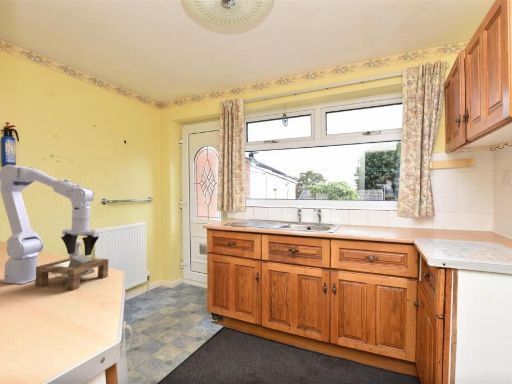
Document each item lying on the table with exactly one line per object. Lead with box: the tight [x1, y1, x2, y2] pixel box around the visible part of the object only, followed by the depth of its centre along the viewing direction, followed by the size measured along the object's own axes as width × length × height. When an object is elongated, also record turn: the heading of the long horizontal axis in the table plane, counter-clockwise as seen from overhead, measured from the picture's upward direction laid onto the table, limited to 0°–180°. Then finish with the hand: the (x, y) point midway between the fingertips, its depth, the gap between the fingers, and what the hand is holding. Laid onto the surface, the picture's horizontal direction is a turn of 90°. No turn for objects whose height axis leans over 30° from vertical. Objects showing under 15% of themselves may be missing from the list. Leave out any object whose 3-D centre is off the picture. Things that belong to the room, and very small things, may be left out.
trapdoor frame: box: [34, 257, 109, 291], centre depth 97 cm, size 16×16×7 cm
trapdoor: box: [53, 261, 95, 279], centre depth 97 cm, size 10×10×1 cm
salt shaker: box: [68, 239, 83, 258], centre depth 111 cm, size 6×6×13 cm
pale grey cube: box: [68, 253, 93, 274], centre depth 96 cm, size 5×5×5 cm
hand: (79, 254), depth 97 cm, fingers open, 7 cm apart
